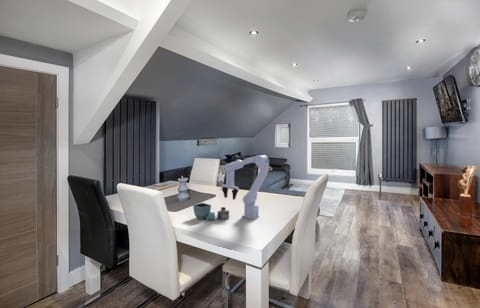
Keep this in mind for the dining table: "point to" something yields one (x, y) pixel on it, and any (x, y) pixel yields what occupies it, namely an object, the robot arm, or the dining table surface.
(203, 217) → the flower pot
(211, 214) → the teal rounded part
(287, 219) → the dining table surface
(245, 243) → the dining table surface
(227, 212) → the press pot
